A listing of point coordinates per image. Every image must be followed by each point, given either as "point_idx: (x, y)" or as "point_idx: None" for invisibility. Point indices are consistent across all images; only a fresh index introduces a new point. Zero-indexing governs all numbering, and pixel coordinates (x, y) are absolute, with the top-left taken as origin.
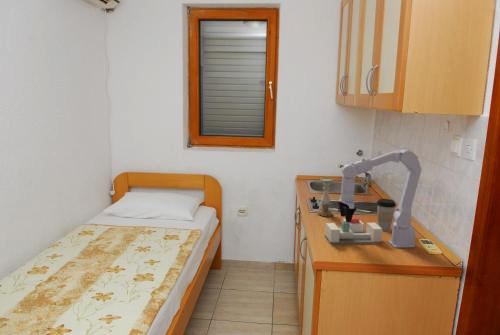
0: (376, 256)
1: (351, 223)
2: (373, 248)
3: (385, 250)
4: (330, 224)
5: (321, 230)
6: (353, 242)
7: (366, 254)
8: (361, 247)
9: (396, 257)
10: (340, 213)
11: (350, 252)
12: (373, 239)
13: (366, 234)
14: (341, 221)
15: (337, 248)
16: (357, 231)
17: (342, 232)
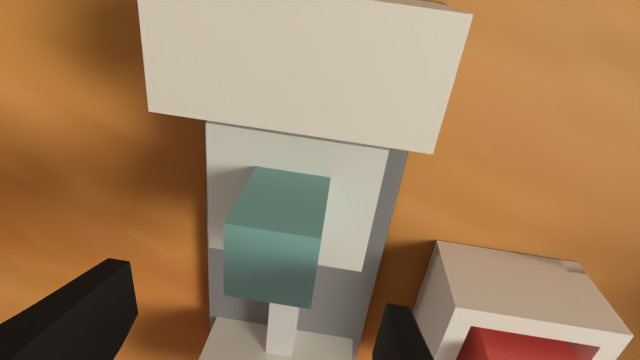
0: (8, 226)
1: (477, 343)
2: (140, 271)
3: None
4: (381, 67)
5: (636, 42)
6: (206, 192)
7: (28, 184)
8: (153, 211)
9: (20, 312)
10: (418, 340)
11: (42, 86)
12: (211, 330)
13: (269, 332)
14: (318, 237)
15: (116, 4)
16: (417, 318)
17: (232, 151)
